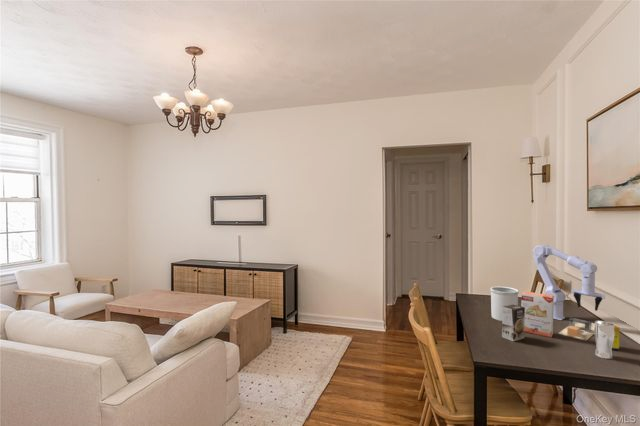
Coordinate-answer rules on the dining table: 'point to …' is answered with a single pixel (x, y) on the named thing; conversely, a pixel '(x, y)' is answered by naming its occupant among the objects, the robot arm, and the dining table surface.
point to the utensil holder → (502, 300)
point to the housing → (587, 323)
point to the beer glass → (604, 339)
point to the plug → (573, 330)
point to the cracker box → (538, 313)
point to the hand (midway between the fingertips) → (587, 308)
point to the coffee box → (513, 322)
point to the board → (583, 334)
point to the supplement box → (616, 338)
